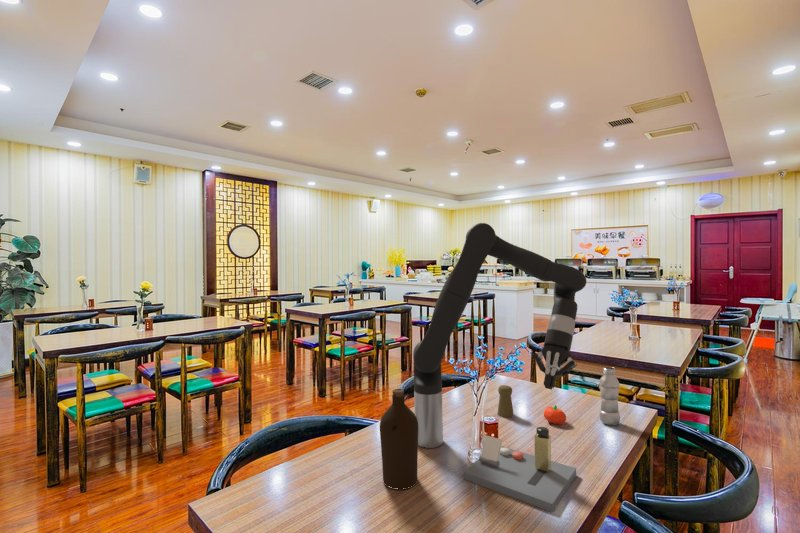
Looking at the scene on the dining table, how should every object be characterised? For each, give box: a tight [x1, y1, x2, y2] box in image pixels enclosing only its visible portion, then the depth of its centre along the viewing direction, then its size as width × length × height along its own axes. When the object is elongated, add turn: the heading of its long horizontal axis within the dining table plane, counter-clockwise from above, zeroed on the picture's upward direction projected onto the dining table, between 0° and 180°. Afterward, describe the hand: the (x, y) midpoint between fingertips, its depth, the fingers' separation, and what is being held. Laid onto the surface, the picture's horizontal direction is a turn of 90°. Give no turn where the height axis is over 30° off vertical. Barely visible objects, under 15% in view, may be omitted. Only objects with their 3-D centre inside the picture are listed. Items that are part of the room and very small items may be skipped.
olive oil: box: [379, 388, 419, 489], centre depth 110 cm, size 11×11×25 cm
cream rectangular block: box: [478, 434, 503, 467], centre depth 115 cm, size 6×2×7 cm, turn 51°
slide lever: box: [534, 426, 552, 472], centre depth 111 cm, size 4×3×11 cm
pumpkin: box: [543, 404, 567, 425], centre depth 147 cm, size 7×8×6 cm
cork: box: [497, 384, 515, 419], centre depth 154 cm, size 6×6×11 cm
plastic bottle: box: [598, 366, 621, 426], centre depth 144 cm, size 6×7×20 cm
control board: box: [463, 445, 577, 513], centre depth 111 cm, size 24×20×3 cm
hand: (548, 388), depth 118 cm, fingers closed
